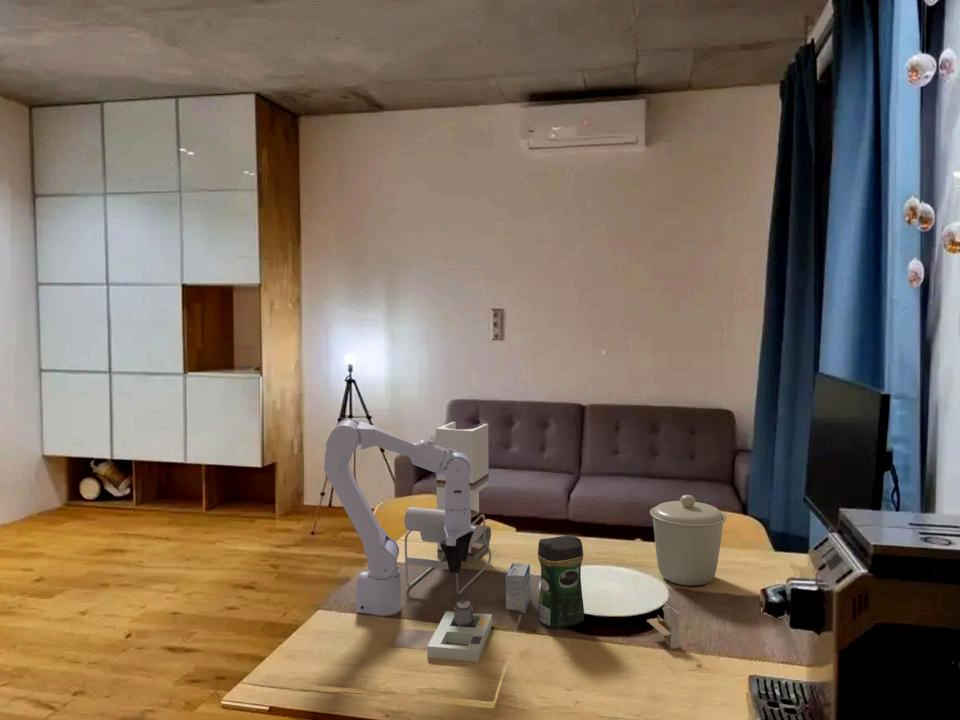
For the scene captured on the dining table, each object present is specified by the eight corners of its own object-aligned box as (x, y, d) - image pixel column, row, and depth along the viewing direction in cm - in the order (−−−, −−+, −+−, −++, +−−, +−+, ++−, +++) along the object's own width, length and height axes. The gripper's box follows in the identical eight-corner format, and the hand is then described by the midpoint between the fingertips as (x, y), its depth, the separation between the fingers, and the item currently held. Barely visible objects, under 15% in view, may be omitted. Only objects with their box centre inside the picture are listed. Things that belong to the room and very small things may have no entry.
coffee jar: (570, 609, 165) (571, 528, 163) (589, 624, 157) (589, 539, 156) (532, 617, 161) (532, 534, 159) (549, 632, 154) (549, 546, 152)
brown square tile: (387, 650, 147) (387, 646, 147) (399, 632, 154) (399, 628, 154) (426, 653, 145) (426, 649, 145) (436, 634, 153) (436, 631, 153)
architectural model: (664, 652, 146) (664, 616, 145) (646, 636, 152) (647, 602, 152) (679, 649, 147) (680, 613, 146) (661, 634, 153) (662, 600, 153)
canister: (696, 561, 194) (697, 483, 192) (740, 587, 177) (742, 501, 175) (635, 570, 188) (636, 489, 186) (675, 597, 171) (677, 508, 169)
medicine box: (525, 614, 163) (525, 576, 162) (505, 612, 164) (505, 575, 163) (530, 599, 170) (530, 563, 170) (511, 598, 171) (511, 562, 170)
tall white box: (473, 561, 195) (472, 431, 192) (437, 556, 199) (435, 428, 196) (489, 547, 206) (488, 423, 203) (454, 543, 210) (452, 421, 207)
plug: (453, 639, 151) (453, 606, 150) (455, 630, 155) (454, 598, 154) (473, 639, 151) (472, 606, 150) (474, 630, 155) (473, 598, 154)
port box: (427, 661, 142) (427, 646, 142) (446, 624, 158) (446, 610, 157) (478, 665, 140) (478, 650, 140) (492, 628, 156) (492, 614, 156)
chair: (404, 590, 176) (402, 510, 174) (446, 556, 199) (444, 484, 198) (456, 597, 171) (455, 515, 170) (492, 561, 194) (491, 488, 193)
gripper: (468, 517, 155) (469, 580, 157) (481, 499, 170) (481, 556, 171) (436, 516, 157) (437, 578, 158) (451, 497, 171) (452, 554, 172)
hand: (458, 566), depth 165 cm, fingers open, 7 cm apart
